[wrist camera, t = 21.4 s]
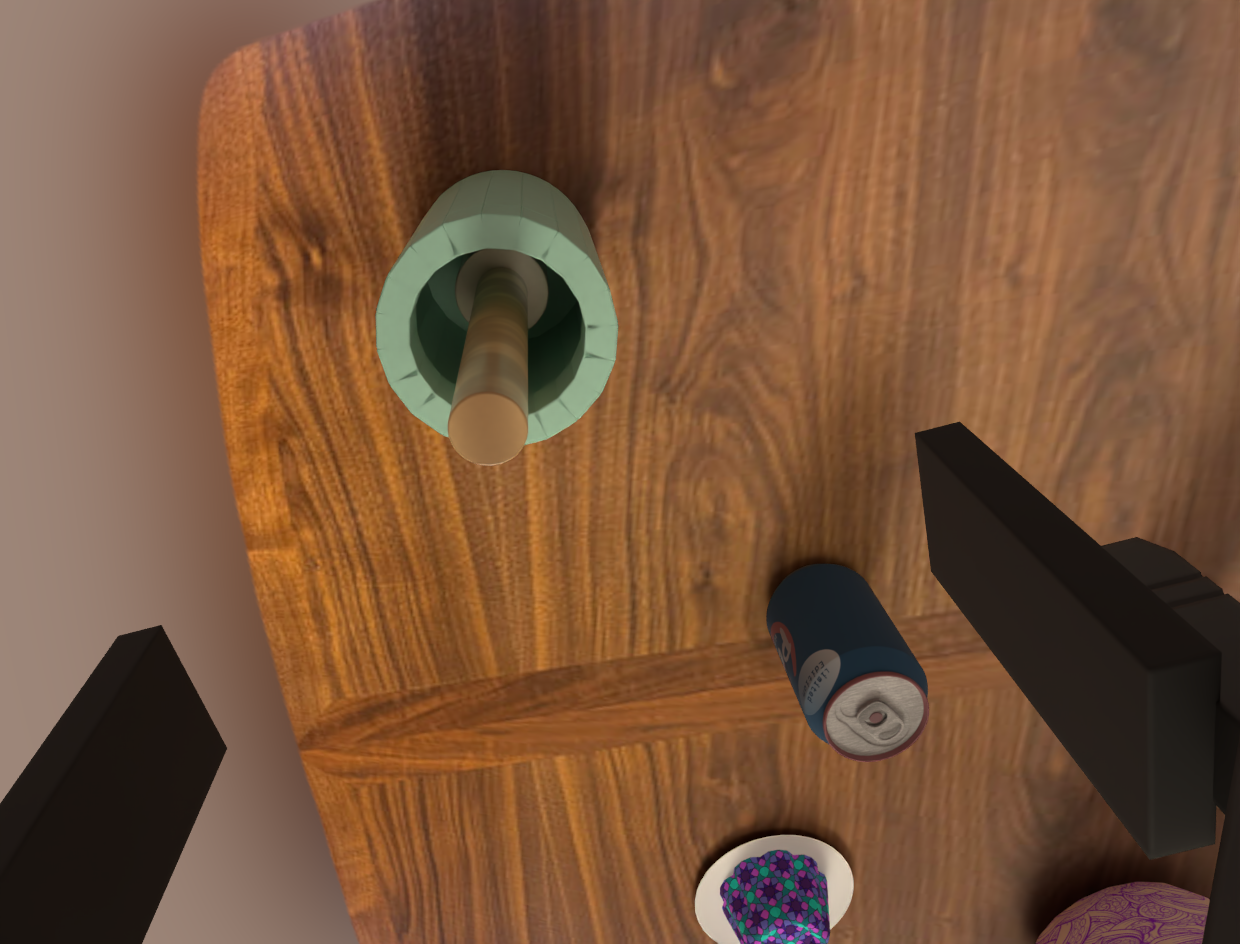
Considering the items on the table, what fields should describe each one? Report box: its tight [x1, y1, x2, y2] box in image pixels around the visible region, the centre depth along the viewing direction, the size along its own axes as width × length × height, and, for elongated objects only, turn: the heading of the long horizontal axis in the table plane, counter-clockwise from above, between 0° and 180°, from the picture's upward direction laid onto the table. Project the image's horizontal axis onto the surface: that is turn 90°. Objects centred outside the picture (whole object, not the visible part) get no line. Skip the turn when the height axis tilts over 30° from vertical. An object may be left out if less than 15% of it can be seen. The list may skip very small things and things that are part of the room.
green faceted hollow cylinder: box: [376, 170, 618, 445], centre depth 44 cm, size 9×9×15 cm
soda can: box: [767, 564, 929, 762], centre depth 56 cm, size 7×7×12 cm
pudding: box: [695, 835, 854, 944], centre depth 69 cm, size 12×12×5 cm
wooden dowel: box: [448, 248, 549, 466], centre depth 39 cm, size 4×4×24 cm
